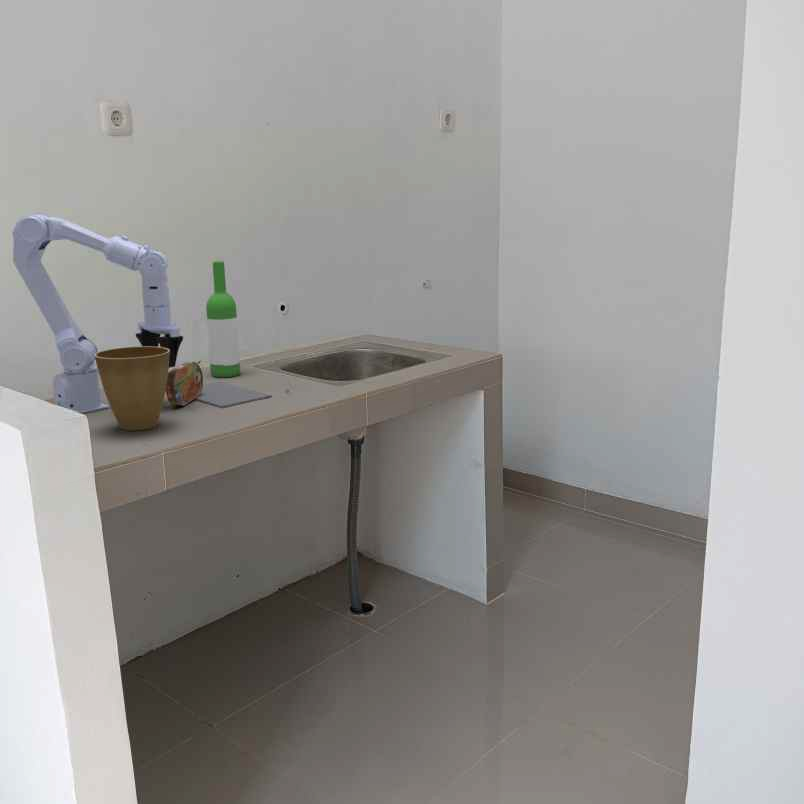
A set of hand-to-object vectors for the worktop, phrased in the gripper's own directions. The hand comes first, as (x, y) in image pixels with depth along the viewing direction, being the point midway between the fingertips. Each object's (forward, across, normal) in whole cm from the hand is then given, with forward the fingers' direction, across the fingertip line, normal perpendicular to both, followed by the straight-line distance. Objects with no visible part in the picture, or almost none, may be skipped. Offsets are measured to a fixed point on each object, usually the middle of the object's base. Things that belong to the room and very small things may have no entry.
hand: (161, 364), depth 197 cm
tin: (+9, -1, -5) cm, 11 cm away
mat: (+9, -2, -14) cm, 17 cm away
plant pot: (+10, -12, +13) cm, 20 cm away
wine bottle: (+10, +16, -28) cm, 34 cm away
